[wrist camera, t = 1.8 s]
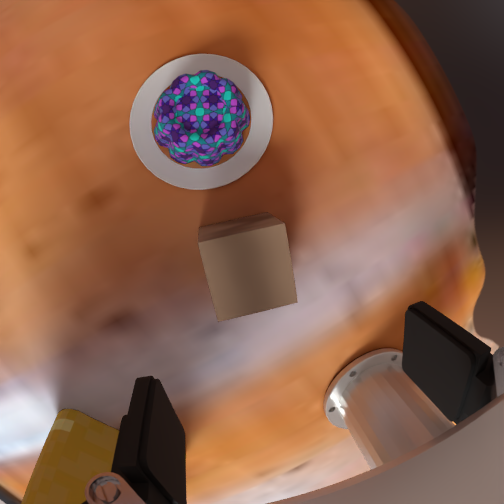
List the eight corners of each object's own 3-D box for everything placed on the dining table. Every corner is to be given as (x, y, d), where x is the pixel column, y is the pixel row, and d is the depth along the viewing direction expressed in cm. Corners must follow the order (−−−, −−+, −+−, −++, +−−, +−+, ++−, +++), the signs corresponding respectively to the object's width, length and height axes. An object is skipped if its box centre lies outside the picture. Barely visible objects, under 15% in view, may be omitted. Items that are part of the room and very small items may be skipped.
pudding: (272, 186, 26) (288, 190, 21) (133, 194, 25) (117, 199, 20) (269, 57, 23) (283, 34, 18) (133, 62, 22) (119, 40, 17)
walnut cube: (267, 212, 27) (284, 223, 21) (279, 276, 28) (297, 302, 23) (199, 227, 26) (197, 243, 20) (214, 291, 28) (218, 321, 22)
